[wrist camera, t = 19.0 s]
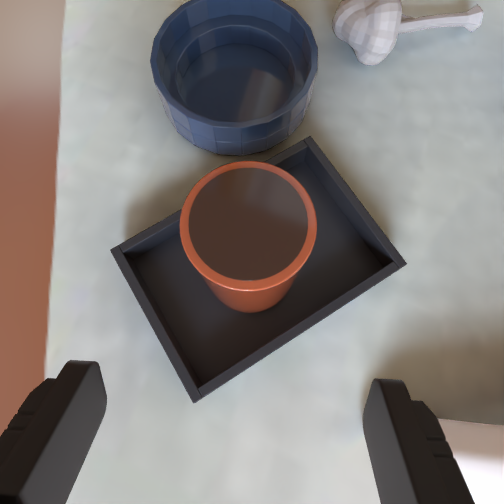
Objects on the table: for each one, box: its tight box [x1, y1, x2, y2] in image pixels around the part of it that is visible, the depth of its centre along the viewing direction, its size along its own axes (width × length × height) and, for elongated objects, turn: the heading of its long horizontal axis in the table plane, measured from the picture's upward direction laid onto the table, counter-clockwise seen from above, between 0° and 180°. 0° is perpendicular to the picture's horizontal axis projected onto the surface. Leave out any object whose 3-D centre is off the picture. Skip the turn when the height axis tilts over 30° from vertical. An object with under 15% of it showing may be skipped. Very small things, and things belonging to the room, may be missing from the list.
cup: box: [180, 161, 317, 313], centre depth 20 cm, size 6×6×10 cm
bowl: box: [150, 0, 318, 156], centre depth 27 cm, size 11×11×4 cm
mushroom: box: [332, 0, 483, 65], centre depth 28 cm, size 7×5×12 cm
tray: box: [110, 136, 407, 403], centre depth 24 cm, size 15×11×2 cm
